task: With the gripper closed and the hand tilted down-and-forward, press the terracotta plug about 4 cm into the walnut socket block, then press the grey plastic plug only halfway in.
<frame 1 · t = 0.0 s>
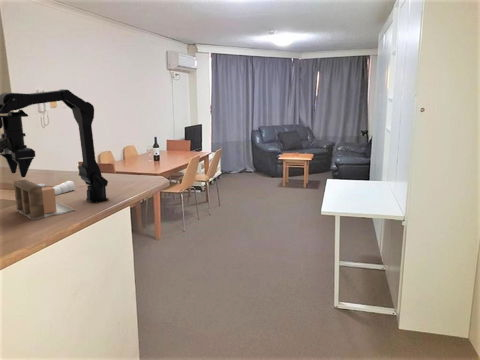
hand: (18, 175, 134), 15 cm above the worktop, tool pointing down, fingers open, 9 cm apart
terracotta plug: (44, 200, 138), point 5 cm above the worktop, slide at 0.0 cm
unicorn horn: (51, 196, 164), on the worktop
grey plug: (36, 196, 143), point 5 cm above the worktop, slide at 0.0 cm
socket block: (30, 214, 139), on the worktop
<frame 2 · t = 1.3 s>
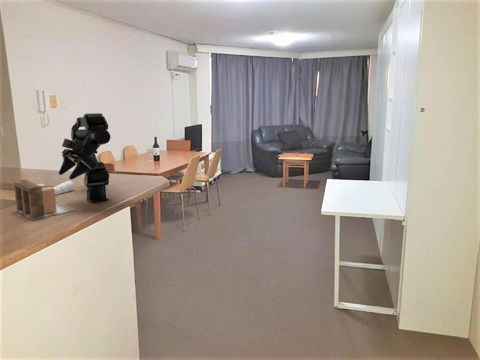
hand: (64, 176, 143), 13 cm above the worktop, tool tilted 45°, fingers open, 9 cm apart
nothing on the worktop moved.
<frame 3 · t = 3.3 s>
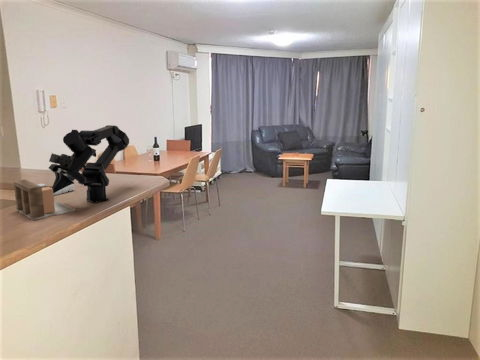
hand: (52, 192, 140), 8 cm above the worktop, tool tilted 45°, fingers closed, pressing on terracotta plug
terracotta plug: (43, 200, 138), point 5 cm above the worktop, slide at 0.5 cm, touching gripper
everything else where it was.
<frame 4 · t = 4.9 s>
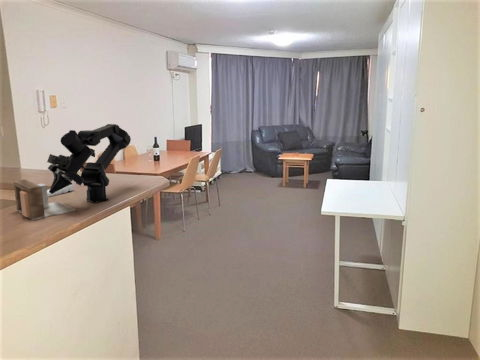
hand: (50, 192, 140), 7 cm above the worktop, tool tilted 45°, fingers closed
terracotta plug: (32, 202, 135), point 5 cm above the worktop, slide at 4.2 cm
everything else where it was.
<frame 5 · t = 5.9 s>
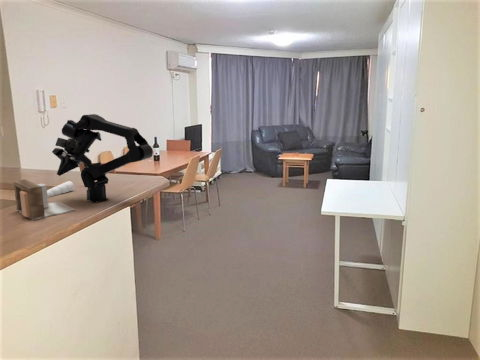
hand: (58, 175, 146), 12 cm above the worktop, tool tilted 45°, fingers closed
nothing on the worktop moved.
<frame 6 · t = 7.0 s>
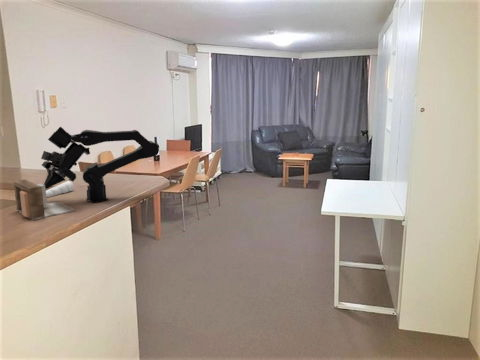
hand: (43, 188, 145), 8 cm above the worktop, tool tilted 45°, fingers closed, pressing on grey plug
grey plug: (35, 197, 143), point 5 cm above the worktop, slide at 0.5 cm, touching gripper
everything else where it was.
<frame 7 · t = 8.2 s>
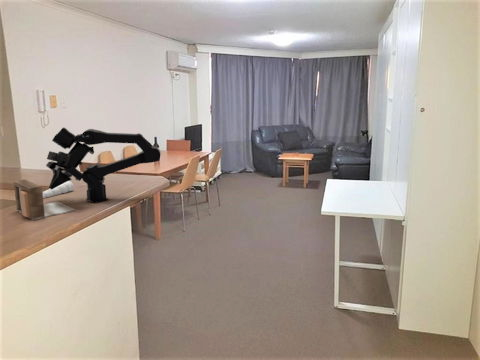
hand: (50, 188, 146), 7 cm above the worktop, tool tilted 45°, fingers closed
grey plug: (30, 197, 141), point 5 cm above the worktop, slide at 2.2 cm
everything else where it was.
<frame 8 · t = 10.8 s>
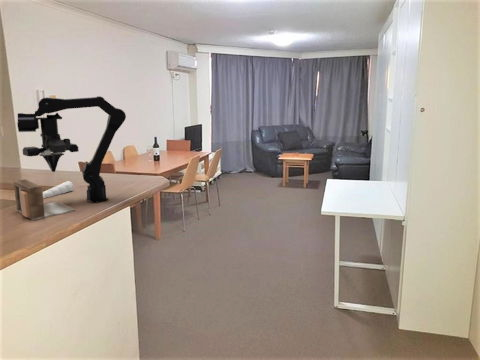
hand: (53, 171, 149), 13 cm above the worktop, tool pointing down, fingers closed
at the end: terracotta plug slide at 4.2 cm; grey plug slide at 2.2 cm; terracotta plug touching nothing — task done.
